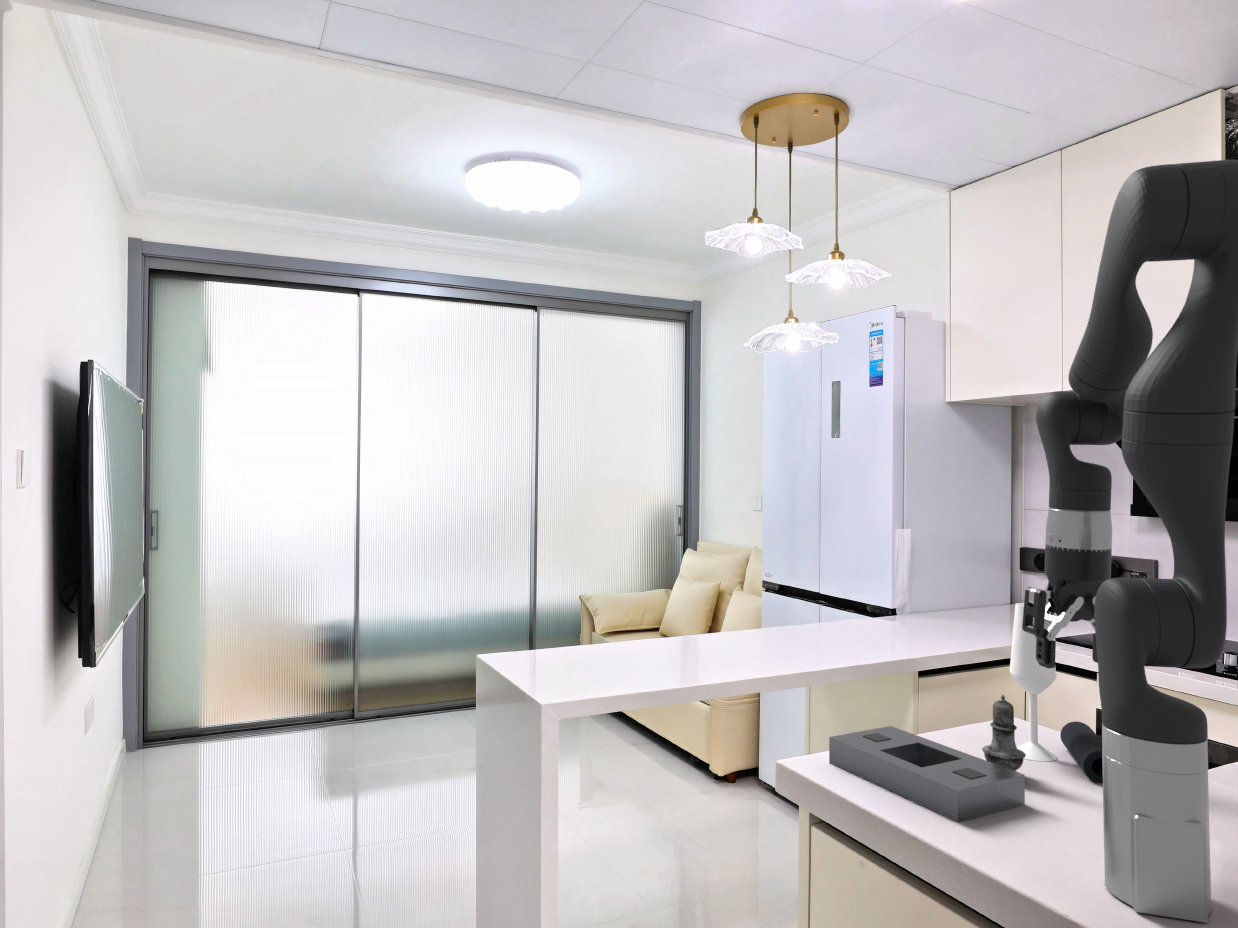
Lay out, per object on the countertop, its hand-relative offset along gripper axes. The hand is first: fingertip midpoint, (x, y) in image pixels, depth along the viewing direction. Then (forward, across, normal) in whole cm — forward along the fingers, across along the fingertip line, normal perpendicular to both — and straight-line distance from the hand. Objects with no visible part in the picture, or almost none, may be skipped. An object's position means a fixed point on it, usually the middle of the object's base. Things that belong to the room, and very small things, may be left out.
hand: (1074, 664), depth 102 cm
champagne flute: (+22, +12, +20) cm, 31 cm away
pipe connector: (+21, +19, +12) cm, 31 cm away
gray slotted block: (+20, -14, +13) cm, 28 cm away
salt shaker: (+21, 0, +13) cm, 24 cm away
